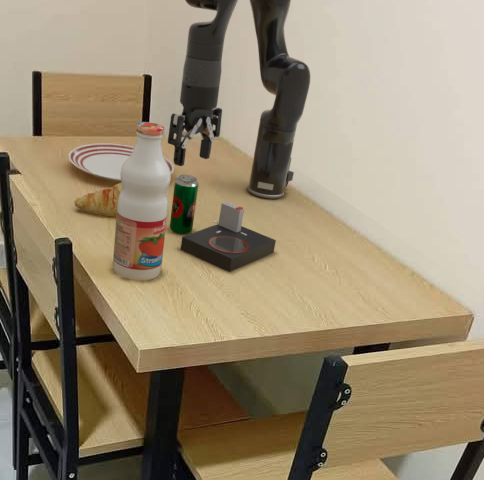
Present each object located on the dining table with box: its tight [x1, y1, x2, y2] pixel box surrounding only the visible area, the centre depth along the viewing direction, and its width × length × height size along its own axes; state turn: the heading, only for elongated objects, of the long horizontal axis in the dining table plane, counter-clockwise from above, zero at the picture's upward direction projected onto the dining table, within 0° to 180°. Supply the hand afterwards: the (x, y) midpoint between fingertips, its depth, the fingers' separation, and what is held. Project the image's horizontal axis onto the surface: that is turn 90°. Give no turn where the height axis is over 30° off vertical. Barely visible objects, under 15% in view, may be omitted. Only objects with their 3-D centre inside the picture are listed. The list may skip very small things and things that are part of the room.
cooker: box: [180, 220, 277, 273], centre depth 157 cm, size 17×15×3 cm
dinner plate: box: [67, 142, 175, 184], centre depth 191 cm, size 27×27×3 cm
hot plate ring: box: [209, 236, 249, 254], centre depth 152 cm, size 8×8×1 cm
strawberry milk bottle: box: [112, 121, 172, 282], centre depth 136 cm, size 9×9×28 cm
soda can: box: [169, 174, 199, 235], centre depth 160 cm, size 5×5×12 cm
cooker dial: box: [217, 201, 245, 232], centre depth 159 cm, size 5×2×5 cm, turn 50°
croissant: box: [73, 183, 122, 218], centre depth 167 cm, size 21×10×8 cm, turn 109°
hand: (191, 161), depth 155 cm, fingers open, 8 cm apart
